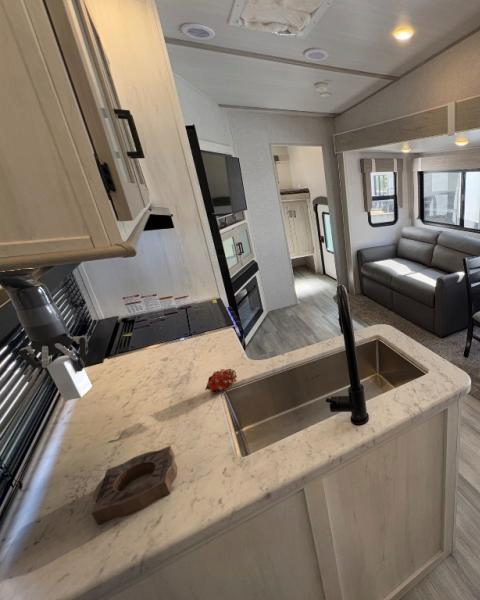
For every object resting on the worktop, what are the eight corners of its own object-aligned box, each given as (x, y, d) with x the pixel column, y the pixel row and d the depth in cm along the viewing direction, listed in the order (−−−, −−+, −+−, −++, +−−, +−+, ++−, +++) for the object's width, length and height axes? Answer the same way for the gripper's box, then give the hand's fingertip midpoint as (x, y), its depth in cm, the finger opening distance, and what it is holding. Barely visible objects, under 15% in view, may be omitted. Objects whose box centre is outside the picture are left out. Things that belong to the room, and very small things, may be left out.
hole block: (91, 531, 70) (83, 519, 69) (108, 479, 83) (103, 468, 82) (174, 494, 77) (169, 483, 76) (179, 452, 90) (174, 442, 89)
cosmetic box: (75, 390, 95) (59, 356, 91) (92, 386, 96) (77, 353, 92) (63, 401, 90) (45, 366, 86) (81, 398, 91) (64, 362, 87)
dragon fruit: (242, 383, 125) (213, 403, 116) (229, 369, 126) (199, 388, 118) (242, 374, 119) (211, 394, 110) (228, 359, 120) (197, 378, 112)
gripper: (81, 310, 91) (103, 360, 97) (11, 323, 84) (39, 376, 90) (73, 318, 85) (97, 370, 91) (-3, 332, 78) (28, 388, 84)
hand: (68, 373), depth 90 cm, fingers closed on cosmetic box, 4 cm apart
